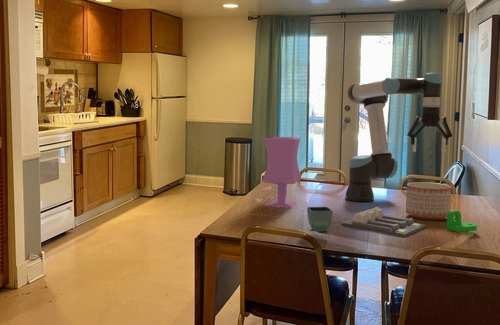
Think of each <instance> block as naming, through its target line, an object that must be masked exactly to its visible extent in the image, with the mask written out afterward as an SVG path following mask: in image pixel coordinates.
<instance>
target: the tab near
mask: <svg viewBox="0 0 500 325" xmlns="http://www.w3.org/2000/svg"><path fill="white" fill-rule="evenodd" d="M353 216H354V217H353V219H354V222H360V223H366V224H367V222H368V214H364V212H363V211H359V212H356V213H354V215H353Z"/></svg>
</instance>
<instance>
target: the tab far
mask: <svg viewBox="0 0 500 325" xmlns="http://www.w3.org/2000/svg"><path fill="white" fill-rule="evenodd" d="M371 209H372V211H375V212H376V215H375V217H378V218H383V216H384V209H383V208H380V206H376V207H373V208H371Z"/></svg>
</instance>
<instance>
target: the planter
mask: <svg viewBox="0 0 500 325" xmlns="http://www.w3.org/2000/svg"><path fill="white" fill-rule="evenodd" d="M451 197H452V186H451V185H449V184H446V183H445V184H444V183H437V182H429V181H428V182H427V181H426V182H424V181H421V182H418V181H415V182H408V183H407V184H406V198H405V199H406V202H405V213H406V214H408V215H409V217H410V218H413V219H418V220H422V221H423V220H425V221H442V220H445V219H446V218H447V215H448V213H449V212H450V211H451V200H452V198H451Z"/></svg>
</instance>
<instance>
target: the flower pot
mask: <svg viewBox="0 0 500 325" xmlns="http://www.w3.org/2000/svg"><path fill="white" fill-rule="evenodd" d="M306 210H307V220H308V223H309V226H310V228H311V229H312V231H313V232H315V233H316V232H327V231H328V230H329V229H330V226H331V225H332V224H331V223H332V220H333V219H332V218H333V211H334V210H332V209H331V208H329V207H328V206H308V207H306Z"/></svg>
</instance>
